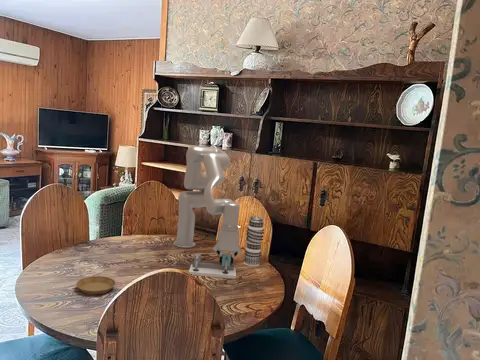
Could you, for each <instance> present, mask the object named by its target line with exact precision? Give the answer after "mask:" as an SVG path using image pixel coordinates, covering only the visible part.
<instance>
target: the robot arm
mask: <svg viewBox="0 0 480 360" xmlns="http://www.w3.org/2000/svg"><path fill="white" fill-rule="evenodd" d="M185 154H186V156H185V157H186V168H185V172H184V180H183V186H184V188H185V189H186V190H185V191H182V192H180V193H179V194H178V198H177V200H178V218H177V219H178V220H177V232H176V240H174V241H173V245H174V247H177V248H180V249H181V248H183V249H184V248H186V249H192V248H194V247H195V246H196V242H195V241H194V235H195V226H196V225H195V222H196V214H195V212H194V209H193V208H196V209H197V208H206V212H207V213H209V214H210V215H222V221H221V222H222V223H221V228H220V229H219V232H218V237H217V242H216V244H215V246H213V248H212V250H213V251H214V252H215V253H216V254H217V256H218V257H219V259H218V263H219V264H220V265H222V258H223V253H224V252H229V253H230V252H231V262H230V266H231V265H234V260H235V259H234V258H235V257H236V256H238V255H240V254H241V253H243V252H242V248H241V247H240V245H239V243H240V240H239V239H240V236H239V235H240V233H239V230H240V229H242V228H241V226H240V225H238V224H239V217H240V216H239V215H240V210H241V209H240V208H241V206H240V203H238V202H235V201H234V200H233V199H230V198H214V196H213V188H215V187H217V186H219V185H221V184H222V183H224V181H225V175H224V171H223V170H227V169H228V168H229V167H230V165H231V159H230V156H229V155H228V154H227V153H226V152H225V151H223V150H221V148H218V147H215V146H214V147H213V146H202V145H201V146H200V145H193V146H190V147H189V148H188V149H187V150H186V153H185ZM202 163H203V165H204V166H203V167H204V170H205V173H203V172H202V169H203V167H202Z"/></svg>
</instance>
